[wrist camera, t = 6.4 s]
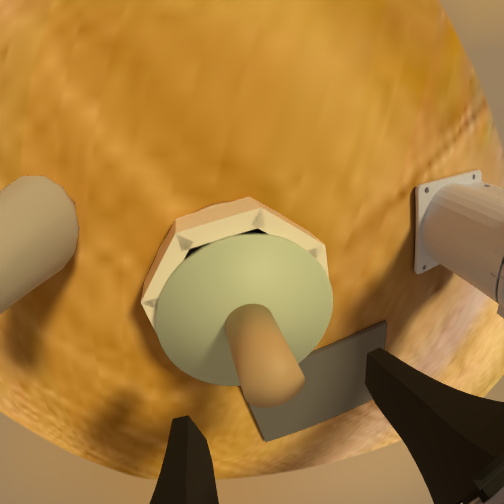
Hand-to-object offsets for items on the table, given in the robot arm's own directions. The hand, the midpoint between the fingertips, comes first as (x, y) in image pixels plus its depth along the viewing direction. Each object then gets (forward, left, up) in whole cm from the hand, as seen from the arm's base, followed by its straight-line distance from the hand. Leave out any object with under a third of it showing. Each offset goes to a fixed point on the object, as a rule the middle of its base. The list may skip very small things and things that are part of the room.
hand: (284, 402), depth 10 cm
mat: (-5, +15, -10) cm, 19 cm away
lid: (0, +1, -7) cm, 7 cm away
